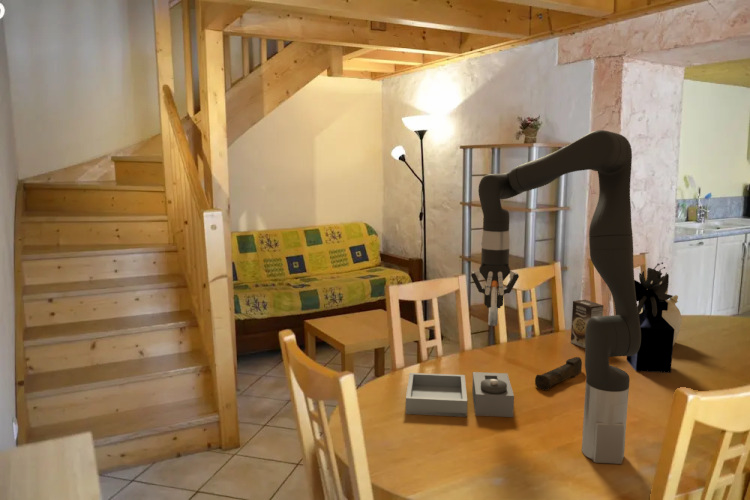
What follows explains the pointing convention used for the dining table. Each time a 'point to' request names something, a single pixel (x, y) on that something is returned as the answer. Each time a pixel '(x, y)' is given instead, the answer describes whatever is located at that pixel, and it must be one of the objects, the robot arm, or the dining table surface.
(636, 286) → the vase
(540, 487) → the dining table surface
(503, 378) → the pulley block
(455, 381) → the tray
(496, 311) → the pin
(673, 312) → the jug
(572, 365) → the hand tool
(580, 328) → the coffee box
